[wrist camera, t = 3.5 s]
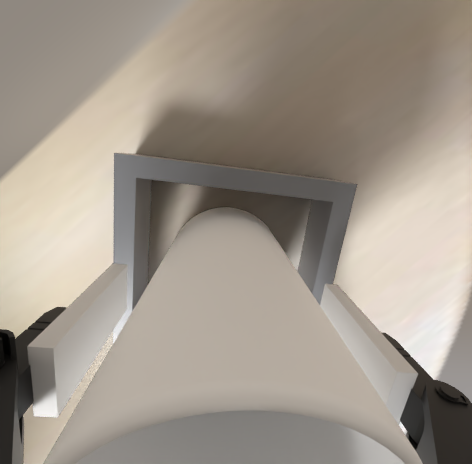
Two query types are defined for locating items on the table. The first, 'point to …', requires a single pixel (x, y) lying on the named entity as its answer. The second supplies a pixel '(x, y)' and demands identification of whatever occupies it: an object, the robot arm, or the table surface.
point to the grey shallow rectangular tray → (220, 176)
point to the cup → (230, 367)
